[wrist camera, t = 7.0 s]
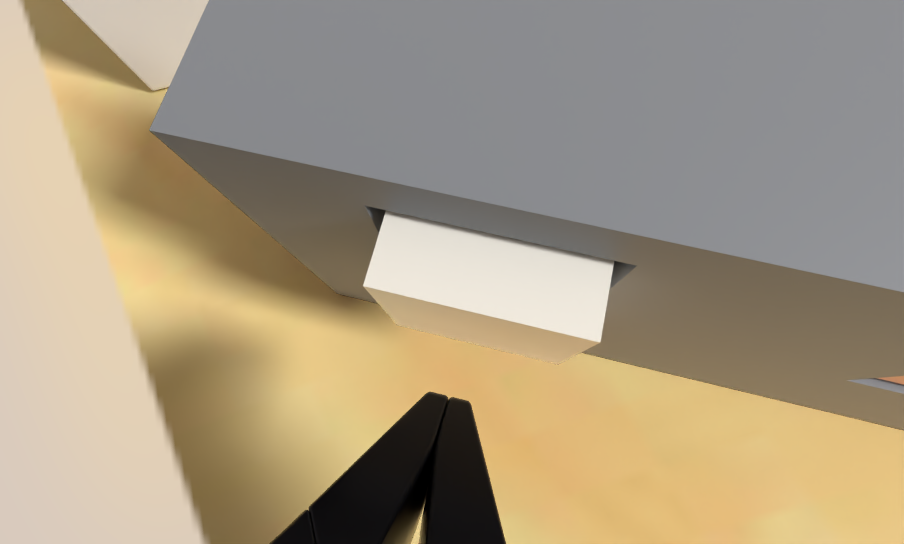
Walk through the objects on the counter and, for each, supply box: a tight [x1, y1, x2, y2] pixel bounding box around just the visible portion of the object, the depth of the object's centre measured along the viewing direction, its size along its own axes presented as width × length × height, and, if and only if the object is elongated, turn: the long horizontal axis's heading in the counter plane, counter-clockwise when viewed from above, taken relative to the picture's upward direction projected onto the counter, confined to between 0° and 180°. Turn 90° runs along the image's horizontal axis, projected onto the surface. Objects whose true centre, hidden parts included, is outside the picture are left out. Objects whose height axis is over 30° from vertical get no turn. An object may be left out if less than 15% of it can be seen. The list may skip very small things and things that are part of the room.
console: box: [149, 0, 904, 430], centre depth 12 cm, size 5×22×11 cm, turn 76°
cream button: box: [363, 210, 614, 365], centre depth 10 cm, size 2×4×4 cm, turn 76°
